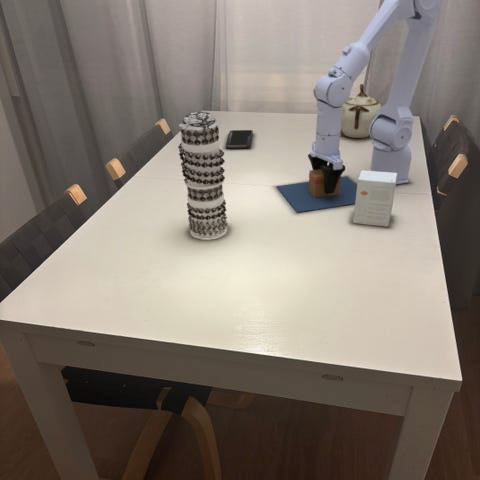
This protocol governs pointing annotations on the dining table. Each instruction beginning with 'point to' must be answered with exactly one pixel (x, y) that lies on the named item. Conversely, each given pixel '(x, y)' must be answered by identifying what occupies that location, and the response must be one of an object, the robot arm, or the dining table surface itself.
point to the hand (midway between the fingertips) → (324, 187)
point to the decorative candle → (203, 175)
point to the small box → (374, 198)
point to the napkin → (306, 202)
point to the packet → (320, 184)
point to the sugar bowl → (359, 114)
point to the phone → (239, 139)
